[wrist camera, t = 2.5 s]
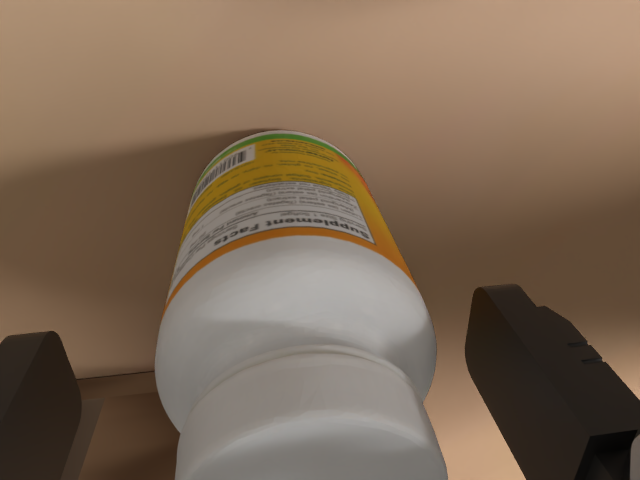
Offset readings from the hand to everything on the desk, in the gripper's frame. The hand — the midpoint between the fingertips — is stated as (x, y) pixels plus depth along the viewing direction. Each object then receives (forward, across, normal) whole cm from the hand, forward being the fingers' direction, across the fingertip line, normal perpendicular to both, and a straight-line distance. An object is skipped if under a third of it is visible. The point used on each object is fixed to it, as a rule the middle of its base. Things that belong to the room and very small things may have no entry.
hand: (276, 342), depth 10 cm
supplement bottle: (+6, 0, 0) cm, 7 cm away
